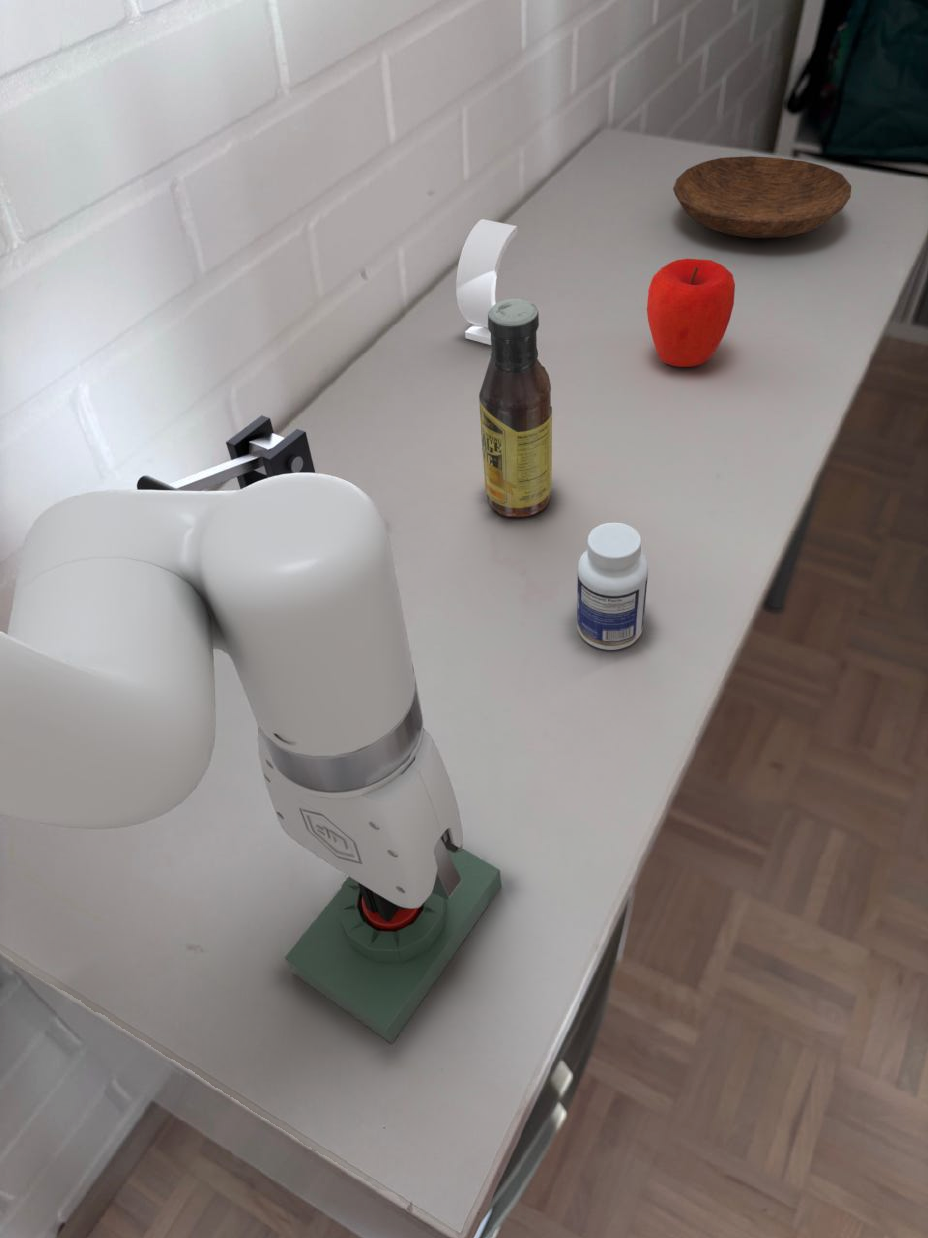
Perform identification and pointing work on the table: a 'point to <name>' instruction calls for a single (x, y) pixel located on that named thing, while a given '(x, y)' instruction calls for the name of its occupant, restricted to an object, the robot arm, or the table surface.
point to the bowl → (761, 195)
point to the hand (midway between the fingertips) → (393, 896)
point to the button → (396, 923)
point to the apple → (689, 310)
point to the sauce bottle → (516, 413)
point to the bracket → (272, 452)
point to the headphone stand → (481, 274)
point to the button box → (390, 948)
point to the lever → (218, 469)
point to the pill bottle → (611, 587)
